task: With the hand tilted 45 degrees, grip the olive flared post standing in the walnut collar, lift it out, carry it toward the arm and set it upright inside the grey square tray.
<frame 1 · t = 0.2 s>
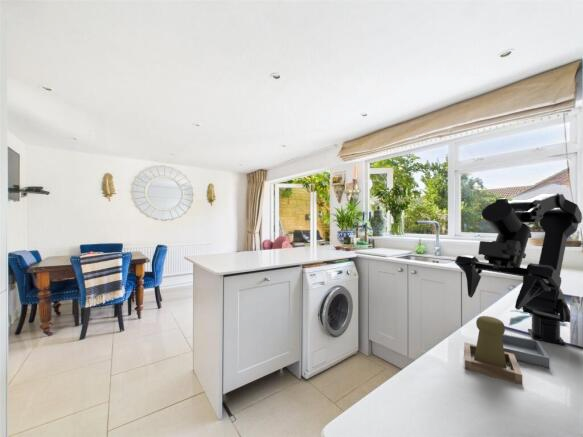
hand: (491, 302, 58), 15 cm above the countertop, tool tilted 35°, fingers open, 9 cm apart
olive flared post: (489, 366, 58), resting in walnut collar
grey square tray: (517, 353, 63), on the countertop
walnut collar: (490, 365, 58), on the countertop
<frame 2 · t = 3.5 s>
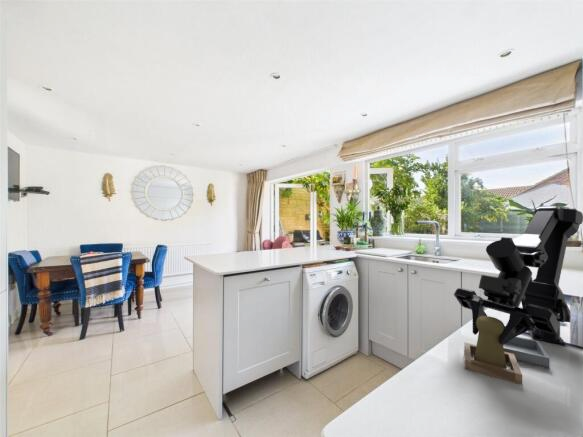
hand: (486, 338, 57), 7 cm above the countertop, tool tilted 45°, fingers closed on olive flared post, 5 cm apart
olive flared post: (489, 366, 58), resting in walnut collar, touching gripper
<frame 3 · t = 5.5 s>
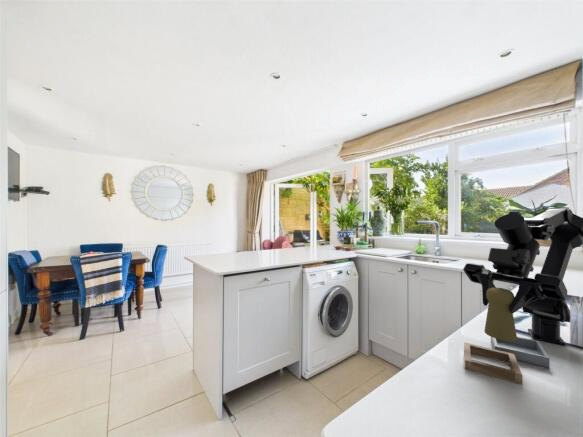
hand: (497, 308, 59), 13 cm above the countertop, tool tilted 45°, fingers closed on olive flared post, 5 cm apart
olive flared post: (500, 335, 60), point 6 cm above the countertop, touching gripper
when the fingers open (8 cm above the countertop, at t = 7.8 s): olive flared post stays where it is, resting on grey square tray.
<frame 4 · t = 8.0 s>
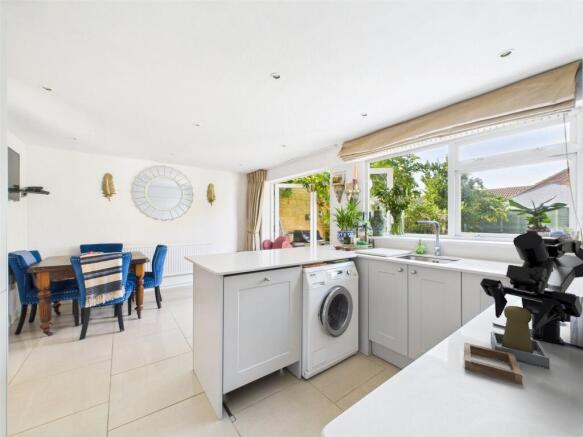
hand: (514, 322, 62), 8 cm above the countertop, tool tilted 45°, fingers open, 7 cm apart
olive flared post: (517, 351, 63), resting on grey square tray
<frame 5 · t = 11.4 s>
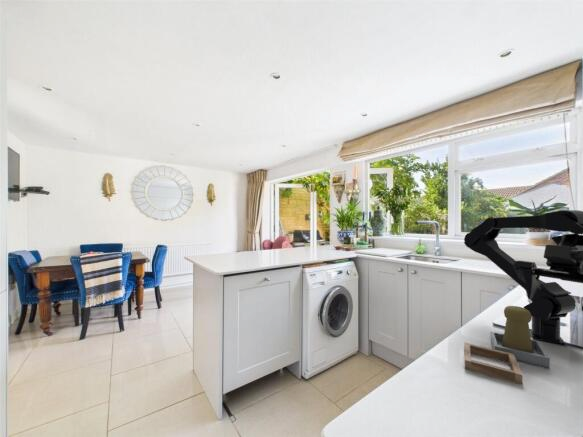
hand: (554, 304, 59), 14 cm above the countertop, tool tilted 45°, fingers open, 9 cm apart
nothing on the countertop moved.
at the end: olive flared post 0.2 cm off-centre on the grey square tray, point 0.3 cm above the grey square tray's base; olive flared post tilted 0°; the gripper is holding nothing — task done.
